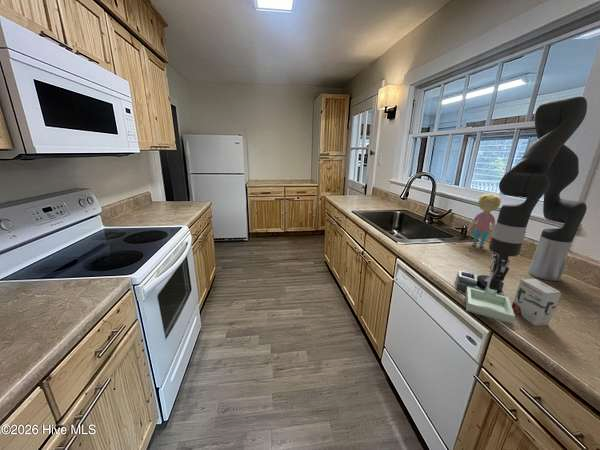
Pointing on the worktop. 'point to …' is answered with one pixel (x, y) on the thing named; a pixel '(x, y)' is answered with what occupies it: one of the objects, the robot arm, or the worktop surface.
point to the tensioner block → (474, 282)
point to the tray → (489, 305)
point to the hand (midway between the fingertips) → (492, 286)
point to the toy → (485, 216)
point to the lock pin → (488, 291)
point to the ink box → (535, 301)
